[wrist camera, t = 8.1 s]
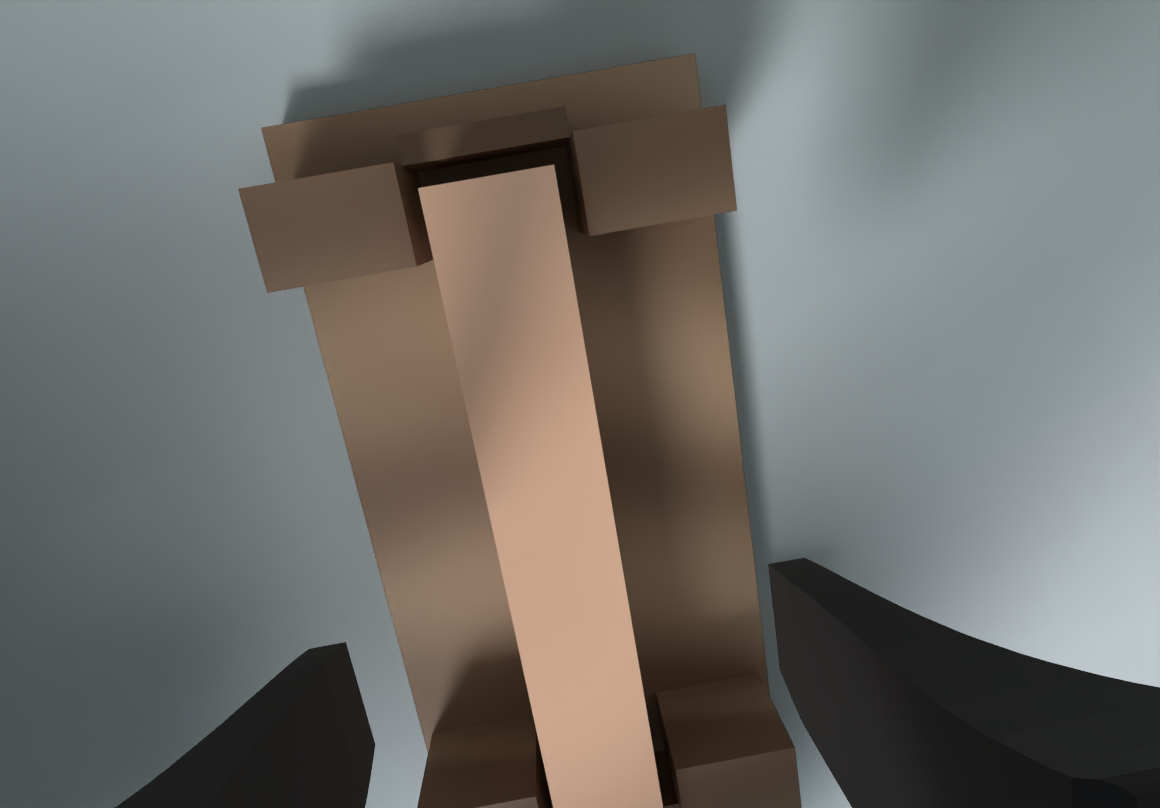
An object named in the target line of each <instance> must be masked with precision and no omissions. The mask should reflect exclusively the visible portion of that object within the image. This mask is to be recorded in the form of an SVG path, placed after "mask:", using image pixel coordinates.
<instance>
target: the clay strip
mask: <svg viewBox="0 0 1160 808" xmlns="http://www.w3.org/2000/svg"><path fill="white" fill-rule="evenodd" d="M418 191H419V195H420V200H421V205H422V209H423V214H424V218H425V223H426V227H427V232H428V237H429V241H430V246H431V250H432V255H433V260H434V264H435V269H436V273H437V278H438V282H439V287H440V292H441V296H442V301H443V305H444V310H445V315H446V319H447V324H448V328H449V333H450V337H451V342H452V347H453V351H454V356H455V360H456V365H457V369H458V374H459V379H460V383H461V388H462V392H463V397H464V402H465V406H466V411H467V415H468V420H469V424H470V429H471V434H472V438H473V443H474V447H475V452H476V456H477V461H478V466H479V470H480V475H481V479H482V484H483V489H484V493H485V498H486V502H487V507H488V511H489V516H490V521H491V525H492V530H493V534H494V539H495V544H496V548H497V553H498V557H499V562H500V566H501V571H502V576H503V580H504V585H505V589H506V594H507V598H508V603H509V608H510V612H511V617H512V621H513V626H514V631H515V635H516V640H517V644H518V649H519V653H520V658H521V663H522V667H523V672H524V676H525V681H526V685H527V690H528V695H529V699H530V704H531V708H532V713H533V718H534V722H535V727H536V731H537V736H538V740H539V745H540V750H541V754H542V759H543V763H544V768H545V773H546V777H547V782H548V786H549V791H550V795H551V800H552V805H553V808H663V804H662V798H661V792H660V786H659V780H658V774H657V768H656V762H655V756H654V751H653V745H652V739H651V733H650V727H649V721H648V715H647V709H646V703H645V698H644V692H643V686H642V680H641V674H640V668H639V662H638V656H637V650H636V644H635V639H634V633H633V627H632V621H631V615H630V609H629V603H628V597H627V591H626V586H625V580H624V574H623V568H622V562H621V556H620V550H619V544H618V538H617V532H616V527H615V521H614V515H613V509H612V503H611V497H610V491H609V485H608V479H607V474H606V468H605V462H604V456H603V450H602V444H601V438H600V432H599V426H598V420H597V415H596V409H595V403H594V397H593V391H592V385H591V379H590V373H589V367H588V362H587V356H586V350H585V344H584V338H583V332H582V326H581V320H580V314H579V308H578V303H577V297H576V291H575V285H574V279H573V273H572V267H571V261H570V255H569V250H568V244H567V238H566V232H565V226H564V220H563V214H562V208H561V202H560V196H559V191H558V185H557V179H556V173H555V167H554V165H549V166H543V167H537V168H531V169H526V170H520V171H514V172H508V173H503V174H497V175H491V176H485V177H480V178H474V179H468V180H462V181H457V182H451V183H445V184H439V185H434V186H428V187H422V188H418Z"/></svg>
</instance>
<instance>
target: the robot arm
mask: <svg viewBox="0 0 1160 808" xmlns="http://www.w3.org/2000/svg"><path fill="white" fill-rule="evenodd" d="M768 566H769V575H770V584H771V593H772V602H773V611H774V620H775V629H776V638H777V647H778V656H779V665H780V670H781V673H782V675H783V678H784V680H785V683H786V685H787V687H788V690H789V692H790V695H791V697H792V699H793V702H794V704H795V706H796V709H797V711H798V713H799V715H800V718H801V720H802V722H803V724H804V726H805V728H806V729H807V731H808V733H809V735H810V736H811V738H812V740H813V741H814V743H815V745H816V747H817V748H818V750H819V752H820V754H821V755H822V757H823V759H824V760H825V762H826V764H827V766H828V767H829V769H830V771H831V772H832V774H833V776H834V778H835V779H836V781H837V783H838V784H839V786H840V788H841V789H842V791H843V793H844V795H845V796H846V798H847V800H848V801H849V803H850V805H851V806H852V808H1160V688H1159V687H1154V686H1148V685H1143V684H1137V683H1133V682H1128V681H1124V680H1119V679H1114V678H1110V677H1105V676H1101V675H1097V674H1093V673H1089V672H1085V671H1081V670H1077V669H1074V668H1070V667H1066V666H1062V665H1058V664H1054V663H1051V662H1047V661H1043V660H1040V659H1037V658H1033V657H1030V656H1027V655H1023V654H1020V653H1017V652H1014V651H1011V650H1008V649H1005V648H1002V647H1000V646H997V645H994V644H991V643H988V642H985V641H982V640H979V639H976V638H974V637H971V636H968V635H966V634H963V633H961V632H958V631H955V630H953V629H951V628H948V627H946V626H944V625H941V624H939V623H937V622H934V621H932V620H930V619H927V618H925V617H923V616H920V615H918V614H916V613H914V612H911V611H909V610H907V609H905V608H903V607H901V606H899V605H897V604H894V603H892V602H890V601H888V600H886V599H884V598H882V597H880V596H878V595H876V594H874V593H872V592H870V591H868V590H866V589H864V588H862V587H861V586H859V585H857V584H855V583H853V582H851V581H849V580H847V579H845V578H843V577H841V576H839V575H838V574H836V573H834V572H832V571H830V570H828V569H826V568H824V567H822V566H820V565H818V564H816V563H814V562H812V561H810V560H808V559H805V558H801V559H795V560H790V561H784V562H779V563H773V564H768ZM374 749H375V742H374V739H373V735H372V732H371V729H370V725H369V722H368V718H367V715H366V711H365V708H364V704H363V701H362V697H361V694H360V690H359V687H358V683H357V680H356V676H355V673H354V670H353V666H352V663H351V659H350V656H349V652H348V649H347V645H346V642H344V643H339V644H333V645H328V646H323V647H317V648H312V649H309V650H307V651H306V652H305V653H303V654H302V655H301V656H299V657H298V658H297V659H295V660H294V661H293V662H292V663H291V664H289V665H288V666H287V667H286V668H285V669H284V670H282V671H281V672H280V673H279V674H278V675H277V676H275V677H274V678H273V679H272V680H271V681H270V682H269V683H268V684H266V685H265V686H264V687H263V688H262V689H261V690H260V691H259V692H257V693H256V694H255V695H254V696H253V697H252V698H251V699H249V700H248V701H247V702H246V703H245V704H244V705H243V706H241V707H240V708H239V709H238V710H237V711H236V712H235V713H234V714H232V715H231V716H230V717H229V718H228V719H227V720H226V721H224V722H223V723H222V724H221V725H220V726H219V727H218V728H216V729H215V730H214V731H213V732H211V733H210V734H209V735H208V736H207V737H205V738H204V739H203V740H202V741H201V742H199V743H198V744H197V745H196V746H194V747H193V748H192V749H191V750H190V751H188V752H187V753H186V754H185V755H183V756H182V757H181V758H180V759H179V760H177V761H176V762H175V763H174V764H172V765H171V766H170V767H169V768H168V769H166V770H165V771H164V772H163V773H161V774H160V775H159V776H157V777H156V778H155V779H154V780H152V781H151V782H150V783H148V784H147V785H146V786H144V787H143V788H142V789H140V790H139V791H138V792H136V793H135V794H134V795H132V796H131V797H129V798H128V799H127V800H125V801H124V802H122V803H121V804H120V805H118V806H117V807H115V808H365V805H366V799H367V794H368V788H369V782H370V776H371V770H372V763H373V756H374Z"/></svg>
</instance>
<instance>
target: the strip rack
mask: <svg viewBox="0 0 1160 808" xmlns="http://www.w3.org/2000/svg"><path fill="white" fill-rule="evenodd" d="M261 130H262V133H263V137H264V141H265V145H266V148H267V152H268V156H269V160H270V163H271V167H272V171H273V175H274V178H275V182H276V183H270V184H265V185H259V186H253V187H247V188H241V189H238V190H239V193H240V197H241V200H242V204H243V208H244V211H245V215H246V218H247V222H248V225H249V229H250V233H251V236H252V240H253V243H254V247H255V250H256V254H257V257H258V261H259V265H260V268H261V272H262V275H263V279H264V282H265V286H266V290H267V293H269V292H274V291H280V290H286V289H292V288H297V287H304V291H305V294H306V298H307V302H308V306H309V309H310V313H311V317H312V321H313V324H314V328H315V332H316V336H317V339H318V343H319V347H320V351H321V354H322V358H323V362H324V366H325V369H326V373H327V377H328V381H329V384H330V388H331V392H332V396H333V399H334V403H335V407H336V411H337V414H338V418H339V422H340V425H341V429H342V433H343V437H344V440H345V444H346V448H347V452H348V455H349V459H350V463H351V467H352V470H353V474H354V478H355V482H356V485H357V489H358V493H359V497H360V500H361V504H362V508H363V512H364V515H365V519H366V523H367V527H368V530H369V534H370V538H371V542H372V545H373V549H374V553H375V557H376V560H377V564H378V568H379V572H380V575H381V579H382V583H383V587H384V590H385V594H386V598H387V602H388V605H389V609H390V613H391V617H392V620H393V624H394V628H395V632H396V635H397V639H398V643H399V646H400V650H401V654H402V658H403V661H404V665H405V669H406V673H407V676H408V680H409V684H410V688H411V691H412V695H413V699H414V703H415V706H416V710H417V714H418V718H419V721H420V725H421V729H422V733H423V736H424V740H425V744H426V748H427V751H428V757H427V762H426V767H425V772H424V777H423V782H422V787H421V792H420V797H419V802H418V807H417V808H553V805H552V800H551V795H550V791H549V786H548V782H547V777H546V773H545V768H544V763H543V759H542V754H541V750H540V745H539V740H538V736H537V731H536V727H535V722H534V718H533V713H532V708H531V704H530V699H529V695H528V690H527V685H526V681H525V676H524V672H523V667H522V663H521V658H520V653H519V649H518V644H517V640H516V635H515V631H514V626H513V621H512V617H511V612H510V608H509V603H508V598H507V594H506V589H505V585H504V580H503V576H502V571H501V566H500V562H499V557H498V553H497V548H496V544H495V539H494V534H493V530H492V525H491V521H490V516H489V511H488V507H487V502H486V498H485V493H484V489H483V484H482V479H481V475H480V470H479V466H478V461H477V456H476V452H475V447H474V443H473V438H472V434H471V429H470V424H469V420H468V415H467V411H466V406H465V402H464V397H463V392H462V388H461V383H460V379H459V374H458V369H457V365H456V360H455V356H454V351H453V347H452V342H451V337H450V333H449V328H448V324H447V319H446V315H445V310H444V305H443V301H442V296H441V292H440V287H439V282H438V278H437V273H436V269H435V264H434V260H433V255H432V250H431V246H430V241H429V237H428V232H427V227H426V223H425V218H424V214H423V209H422V205H421V200H420V195H419V191H418V188H422V187H428V186H434V185H439V184H445V183H451V182H457V181H462V180H468V179H474V178H480V177H485V176H491V175H497V174H503V173H508V172H514V171H520V170H526V169H531V168H537V167H543V166H549V165H554V167H555V173H556V179H557V185H558V191H559V196H560V202H561V208H562V214H563V220H564V226H565V232H566V238H567V244H568V250H569V255H570V261H571V267H572V273H573V279H574V285H575V291H576V297H577V303H578V308H579V314H580V320H581V326H582V332H583V338H584V344H585V350H586V356H587V362H588V367H589V373H590V379H591V385H592V391H593V397H594V403H595V409H596V415H597V420H598V426H599V432H600V438H601V444H602V450H603V456H604V462H605V468H606V474H607V479H608V485H609V491H610V497H611V503H612V509H613V515H614V521H615V527H616V532H617V538H618V544H619V550H620V556H621V562H622V568H623V574H624V580H625V586H626V591H627V597H628V603H629V609H630V615H631V621H632V627H633V633H634V639H635V644H636V650H637V656H638V662H639V668H640V674H641V680H642V686H643V692H644V698H645V703H646V709H647V715H648V721H649V727H650V733H651V739H652V745H653V751H654V756H655V762H656V768H657V774H658V780H659V786H660V792H661V798H662V804H663V808H801V799H800V790H799V781H798V771H797V762H796V753H795V747H794V745H793V743H792V741H791V739H790V737H789V735H788V733H787V730H786V728H785V726H784V724H783V722H782V720H781V718H780V716H779V714H778V712H777V710H776V708H775V706H774V704H773V702H772V700H771V698H770V694H769V685H768V677H767V668H766V659H765V651H764V642H763V634H762V625H761V617H760V608H759V599H758V591H757V582H756V574H755V565H754V556H753V548H752V539H751V531H750V522H749V513H748V505H747V496H746V488H745V479H744V470H743V462H742V453H741V445H740V436H739V427H738V419H737V410H736V402H735V393H734V385H733V376H732V367H731V359H730V350H729V342H728V333H727V324H726V316H725V307H724V299H723V290H722V281H721V273H720V264H719V256H718V247H717V238H716V230H715V221H714V214H719V213H725V212H730V211H736V210H737V207H736V198H735V188H734V179H733V170H732V161H731V151H730V142H729V133H728V124H727V114H726V105H721V106H715V107H710V108H704V109H701V101H700V92H699V84H698V75H697V67H696V58H695V53H694V54H688V55H683V56H677V57H671V58H665V59H659V60H654V61H648V62H642V63H636V64H630V65H624V66H619V67H613V68H607V69H601V70H595V71H589V72H584V73H578V74H572V75H566V76H560V77H555V78H549V79H543V80H537V81H531V82H525V83H520V84H514V85H508V86H502V87H496V88H490V89H485V90H479V91H473V92H467V93H461V94H455V95H450V96H444V97H438V98H432V99H426V100H421V101H415V102H409V103H403V104H397V105H391V106H386V107H380V108H374V109H368V110H362V111H356V112H351V113H345V114H339V115H333V116H327V117H322V118H316V119H310V120H304V121H298V122H292V123H287V124H281V125H275V126H269V127H263V128H261Z"/></svg>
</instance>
